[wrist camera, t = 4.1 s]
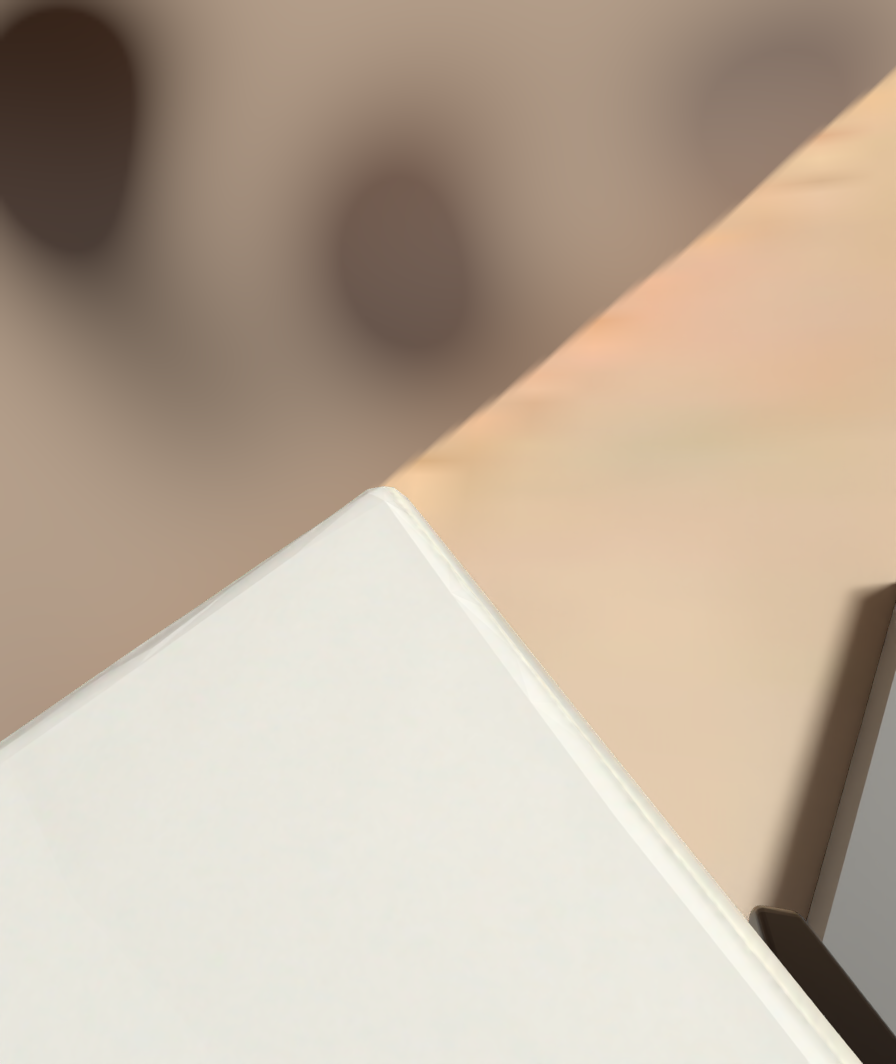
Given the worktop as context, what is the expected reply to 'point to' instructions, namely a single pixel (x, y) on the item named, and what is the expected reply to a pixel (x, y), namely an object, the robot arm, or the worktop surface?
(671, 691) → the worktop surface
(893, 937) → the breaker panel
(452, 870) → the skincare box
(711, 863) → the worktop surface
